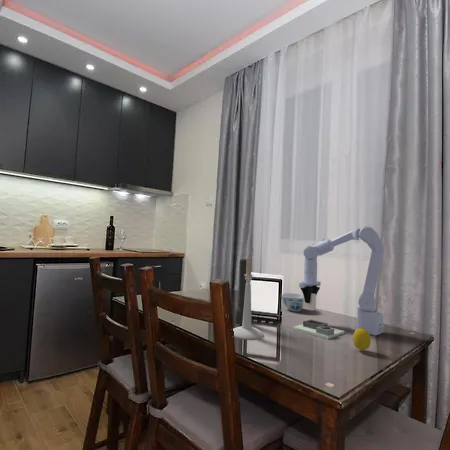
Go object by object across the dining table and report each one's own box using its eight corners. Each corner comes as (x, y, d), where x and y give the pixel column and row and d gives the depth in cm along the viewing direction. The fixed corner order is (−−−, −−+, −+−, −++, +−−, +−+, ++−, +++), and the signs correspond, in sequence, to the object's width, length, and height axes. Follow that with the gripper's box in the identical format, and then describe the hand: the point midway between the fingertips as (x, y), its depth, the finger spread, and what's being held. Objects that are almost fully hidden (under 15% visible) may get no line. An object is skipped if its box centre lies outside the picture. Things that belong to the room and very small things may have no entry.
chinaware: (312, 309, 170) (312, 295, 170) (303, 314, 157) (304, 299, 157) (286, 305, 178) (286, 292, 178) (276, 310, 165) (276, 295, 165)
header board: (344, 333, 126) (344, 325, 126) (327, 339, 118) (327, 330, 118) (310, 324, 138) (310, 316, 138) (292, 329, 129) (292, 320, 130)
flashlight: (250, 326, 131) (250, 322, 138) (252, 260, 133) (253, 259, 140) (234, 325, 132) (235, 321, 139) (236, 259, 133) (237, 258, 140)
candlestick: (265, 332, 124) (267, 256, 126) (260, 341, 112) (263, 258, 113) (234, 328, 127) (237, 255, 129) (226, 337, 115) (229, 256, 117)
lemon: (355, 347, 109) (355, 324, 110) (372, 351, 106) (372, 327, 106) (350, 351, 105) (350, 327, 106) (367, 355, 102) (368, 330, 102)
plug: (315, 309, 141) (315, 294, 141) (311, 310, 139) (312, 294, 139) (305, 307, 145) (306, 292, 145) (301, 308, 143) (302, 293, 143)
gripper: (311, 271, 150) (310, 299, 150) (293, 272, 141) (293, 302, 140) (324, 272, 145) (324, 301, 144) (307, 273, 135) (306, 305, 135)
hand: (309, 302), depth 142 cm, fingers closed on plug, 3 cm apart
